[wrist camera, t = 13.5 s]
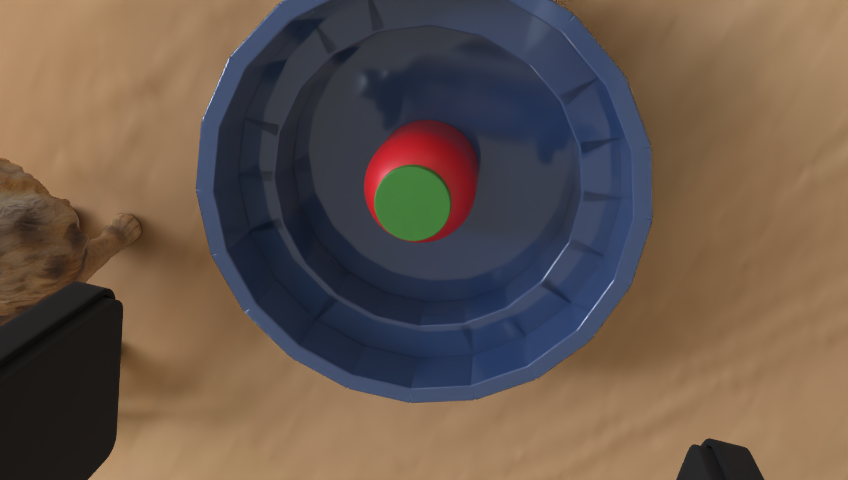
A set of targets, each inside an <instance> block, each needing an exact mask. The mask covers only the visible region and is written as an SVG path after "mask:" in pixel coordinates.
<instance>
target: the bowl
mask: <svg viewBox="0 0 848 480" xmlns="http://www.w3.org/2000/svg"><path fill="white" fill-rule="evenodd" d="M418 120H435V121H440V122H443V123H446V124H448V125H450V126H452V127H454V128H455V129H457V130H458V131H459V132H461V133H462V134H463V135H464V136H465V137H466V138H467V139H468V141H469V142H470V144H471V145H472V147H473V149H474V151H475V154H476V156H477V160H478V167H479V176H478V183H477V190H476V196H475V201H474V204H473V207H472V209H471V211H470V214H469V215H468V217H467V218H466V220H465V221H464V222H463V224H462V225H461V226H460V227H459V228H458V229H456V230H455V231H454V232H453V233H451V234H450V235H448V236H446V237H444V238H442V239H439V240H436V241H432V242H425V243H414V242H408V241H404V240H401V239H399V238H396V237H394V236H393V235H391V234H389V233H388V232H386V231H385V230H384V229H383V228H382V227H381V226H380V225H379V224H378V223H377V222H376V220H375V219H374V218H373V216H372V214H371V213H370V211H369V208H368V206H367V203H366V199H365V193H364V180H365V174H366V170H367V167H368V165H369V163H370V161H371V159H372V157H373V155H374V154H375V153H376V151H377V150H378V149H379V148H380V146H381V145H382V144H383V143H384V142H385V141H386V139H387V138H388V137H389V136H390V135H391V134H392V133H393V132H394V131H396V130H397V129H398V128H400V127H401V126H403V125H405V124H408V123H410V122H414V121H418ZM650 146H651V144H650V141H649V138H648V135H647V133H646V130H645V127H644V125H643V122H642V119H641V116H640V114H639V111H638V108H637V106H636V103H635V100H634V98H633V95H632V92H631V89H630V87H629V84H628V81H627V79H626V77H625V76H624V73H623V72H622V71H621V69H620V68H619V67H618V66H617V64H616V63H615V62H614V61H613V60H612V58H611V57H610V56H609V55H608V54H607V52H606V51H605V50H604V49H603V48H602V46H601V45H600V44H599V43H598V42H597V40H596V39H595V38H594V37H593V36H592V34H591V33H590V32H589V31H588V29H587V28H586V27H585V26H584V25H583V23H582V22H581V21H580V20H579V19H578V17H577V16H575V15H574V14H573V13H572V12H571V11H569V10H567V9H566V8H564V7H562V6H561V5H559V4H557V3H556V2H554V1H552V0H283V1H281V2H280V3H279V4H278V5H277V6H276V7H275V8H274V9H273V10H272V11H271V12H270V13H269V14H268V15H267V16H266V18H265V19H264V20H263V21H262V22H261V23H260V24H259V25H258V26H257V27H256V28H255V29H254V31H253V32H252V33H251V34H250V35H249V36H248V37H247V38H246V39H245V40H244V41H243V42H242V44H241V45H240V46H239V47H238V48H237V49H236V50H235V51H234V52H233V53H232V54H231V57H229V59H228V61H227V63H226V66H225V68H224V70H223V73H222V75H221V77H220V80H219V82H218V84H217V87H216V89H215V91H214V93H213V96H212V98H211V100H210V103H209V105H208V107H207V110H206V112H205V114H204V117H203V119H202V123H201V133H200V145H199V157H198V170H197V182H196V193H197V197H198V201H199V206H200V210H201V214H202V218H203V223H204V227H205V231H206V236H207V240H208V244H209V249H210V253H211V255H212V258H213V259H214V261H215V263H216V265H217V266H218V268H219V270H220V271H221V273H222V275H223V277H224V278H225V280H226V282H227V284H228V285H229V287H230V289H231V291H232V292H233V294H234V296H235V298H236V299H237V301H238V303H239V305H240V306H241V308H242V310H243V311H245V314H246V315H247V316H248V317H249V318H250V319H251V320H253V321H254V322H255V323H256V324H257V325H258V326H259V327H260V328H261V329H262V330H263V331H264V332H265V333H266V334H267V335H268V336H269V337H270V338H271V339H272V340H273V341H274V342H275V343H276V344H277V345H278V346H279V347H280V348H281V349H282V350H284V351H285V352H286V353H287V354H288V355H289V356H290V357H291V356H292V358H293V359H294V360H296V361H298V362H300V363H302V364H304V365H305V366H307V367H309V368H311V369H313V370H315V371H316V372H318V373H320V374H322V375H324V376H326V377H328V378H329V379H331V380H333V381H335V382H337V383H339V384H340V385H342V386H344V387H346V388H347V387H348V388H349V389H352V390H356V391H360V392H365V393H369V394H373V395H378V396H382V397H386V398H391V399H395V400H399V401H404V402H408V403H410V402H411V403H421V402H443V401H465V400H474V399H480V398H483V397H485V396H488V395H491V394H494V393H497V392H500V391H503V390H506V389H509V388H512V387H515V386H518V385H521V384H524V383H527V382H530V381H533V380H535V379H536V378H539V377H541V376H542V375H543V374H545V373H546V372H547V371H549V370H550V369H552V368H553V367H554V366H556V365H557V364H559V363H560V362H561V361H563V360H564V359H566V358H567V357H568V356H570V355H571V354H573V353H574V352H575V351H577V350H578V349H580V348H581V347H582V346H584V345H585V344H587V343H588V342H589V341H590V340H591V339H592V338H593V337H594V335H595V334H596V332H597V331H598V330H599V328H600V327H601V326H602V324H603V323H604V322H605V320H606V319H607V318H608V316H609V315H610V314H611V312H612V311H613V310H614V308H615V307H616V306H617V304H618V303H619V302H620V300H621V299H622V298H623V296H624V295H625V293H626V292H627V291H628V289H629V288H630V286H631V285H632V282H633V279H634V276H635V273H636V270H637V267H638V263H639V260H640V257H641V254H642V251H643V248H644V245H645V242H646V239H647V236H648V233H649V230H650V227H651V224H652V218H653V207H652V149H651V147H650Z"/></svg>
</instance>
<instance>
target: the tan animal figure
mask: <svg viewBox="0 0 848 480" xmlns="http://www.w3.org/2000/svg"><path fill="white" fill-rule="evenodd" d="M140 234H141V227H140V224H139V222H138V221H137V220H136V219H135V218H134V217H133V216H132V215H129V214H117V215H116V216H115V217H114V220H113V222H112V223H111V224H110V225H108V226H106V228H105V229H104V230H103V232H102V234H101V235H100V237H97V238H94V239H91V240H89V237H88V236H87V234H86V233H85V232H83V231H82V230H80V228H79V218H78V216H77V214H76V212H75V211H74V210H73V208H72V206H71V205H70V202H69V201H68V200H67V199H59V198H56V197H53V196H51V195H50V194H49V192H48V191H47V189H46V188H45V187H44V186H43V185H42V184H41V183H40V182H39V181H38V180H36V179H35V178H34V177H33V176H32V175H31V174H28V173H25V172H24V171H23V168H22V167H21V166H19V165H16V164H13V163H11V162H10V161H9V160H7V159H5V158H0V326H2V325H4V324H5V323H7V322H8V321H10V320H12V319H13V318H15V317H17V316H18V315H20V314H21V313H23V312H25V311H26V310H28V309H30V308H31V307H33V306H34V305H36V304H38V303H39V302H41V301H43V300H44V299H46V298H47V297H49V296H51V295H52V294H54V293H55V292H57V291H59V290H60V289H62V288H64V287H65V286H67V285H68V284H70V283H72V282H75V281H78V282H83V283H85V282H86V281H87V280H88V279H89V278H90V277H91V276H92V275H93V274H94V273H95V272H96V271H97V270H98V269H99V268H101V267H102V266H103V265H104V264H105V263H106V262H107V261H108V260H109V259H110V258H111V257H113V256H114V255H115V254H117V253H118V252H119V251H121V250H122V249H124V248H125V247H127V246H128V245H130V244H131V243H132V242H134V241H135V240H136V239H137V238H138V237H139V236H140Z"/></svg>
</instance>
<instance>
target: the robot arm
mask: <svg viewBox="0 0 848 480" xmlns="http://www.w3.org/2000/svg"><path fill="white" fill-rule="evenodd" d="M122 321H123V306H122V303H121V302H120V301H119V300H115V295H114V293H113V291H112V290H111V289H107V288H103V287H99V286H95V285H91V284H87V283H83V282H78V281H75V282H72V283H70V284H68V285H67V286H65V287H64V288H62V289H60V290H59V291H57V292H55V293H54V294H52V295H51V296H49V297H47V298H46V299H44V300H43V301H41V302H39V303H38V304H36V305H34V306H33V307H31V308H30V309H28V310H26V311H25V312H23V313H21V314H20V315H18V316H17V317H15V318H13V319H12V320H10V321H8V322H7V323H5V324H4V325H2V326H0V480H88V479H89V478H90V477H91V475H92V474H93V473H94V472H95V471H96V470H97V469H98V468H99V467H100V466H101V465H102V463H103V462H104V461H105V460H106V459H107V458H108V456H109V455H110V453H111V451H112V449H113V447H114V444H115V441H116V435H117V416H118V397H119V378H120V359H121V340H122ZM676 480H764V478H763V476H762V474H761V472H760V471H759V469H758V467H757V465H756V463H755V461H754V459H753V457H752V455H751V453H750V451H749V450H748V449H747V448H745V447H742V446H738V445H734V444H730V443H726V442H722V441H718V440H714V439H710V438H709V439H706V440H705V441H704V442H703V443H702V445H701V446H699V445H695V444H694V445H692V446H691V447H690V448H689V450H688V452H687V454H686V457H685V459H684V462H683V464H682V467H681V469H680V472H679V474H678V477H677V479H676Z"/></svg>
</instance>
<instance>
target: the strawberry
mask: <svg viewBox="0 0 848 480" xmlns="http://www.w3.org/2000/svg"><path fill="white" fill-rule="evenodd" d="M478 176H479V167H478V160H477V156H476V154H475V151H474V149H473V147H472V145H471V144H470V142H469V141H468V139H467V138H466V137H465V136H464V135H463V134H462V133H461V132H459V131H458V130H457V129H455V128H454V127H452V126H450V125H448V124H446V123H443V122H440V121H435V120H418V121H414V122H410V123H408V124H405V125H403V126H401V127H400V128H398V129H397V130H396V131H394V132H393V133H392V134H391V135H390V136H389V137H388V138H387V139H386V141H385V142H384V143H383V144H382V145H381V146H380V148H379V149H378V150H377V151H376V153H375V154H374V155H373V157H372V159H371V161H370V163H369V165H368V167H367V170H366V174H365V180H364V193H365V199H366V203H367V206H368V208H369V211H370V213H371V214H372V216H373V218H374V219H375V220H376V222H377V223H378V224H379V225H380V226H381V227H382V228H383V229H384V230H385V231H386V232H388V233H389V234H391V235H393V236H394V237H396V238H399V239H401V240H404V241H408V242H414V243H425V242H432V241H436V240H439V239H442V238H444V237H446V236H448V235H450V234H451V233H453V232H454V231H455V230H456V229H458V228H459V227H460V226H461V225H462V224H463V222H464V221H465V220H466V218H467V217H468V215H469V214H470V211H471V209H472V207H473V204H474V201H475V196H476V190H477V183H478Z"/></svg>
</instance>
